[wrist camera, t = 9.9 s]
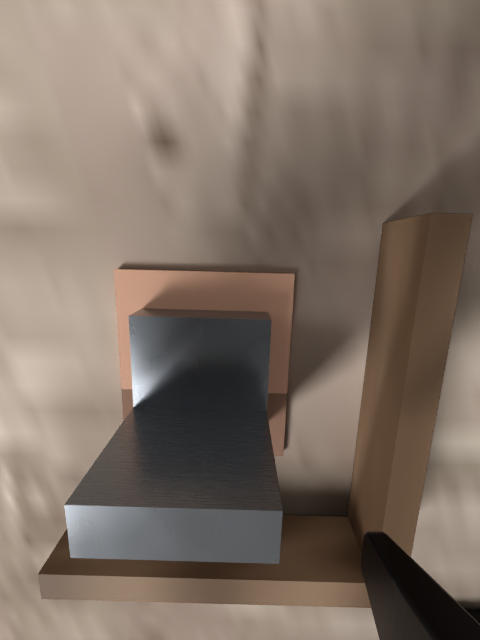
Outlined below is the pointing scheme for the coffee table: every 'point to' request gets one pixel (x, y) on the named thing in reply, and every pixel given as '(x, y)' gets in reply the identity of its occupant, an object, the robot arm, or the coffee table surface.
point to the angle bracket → (187, 448)
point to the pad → (213, 294)
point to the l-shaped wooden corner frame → (369, 463)
